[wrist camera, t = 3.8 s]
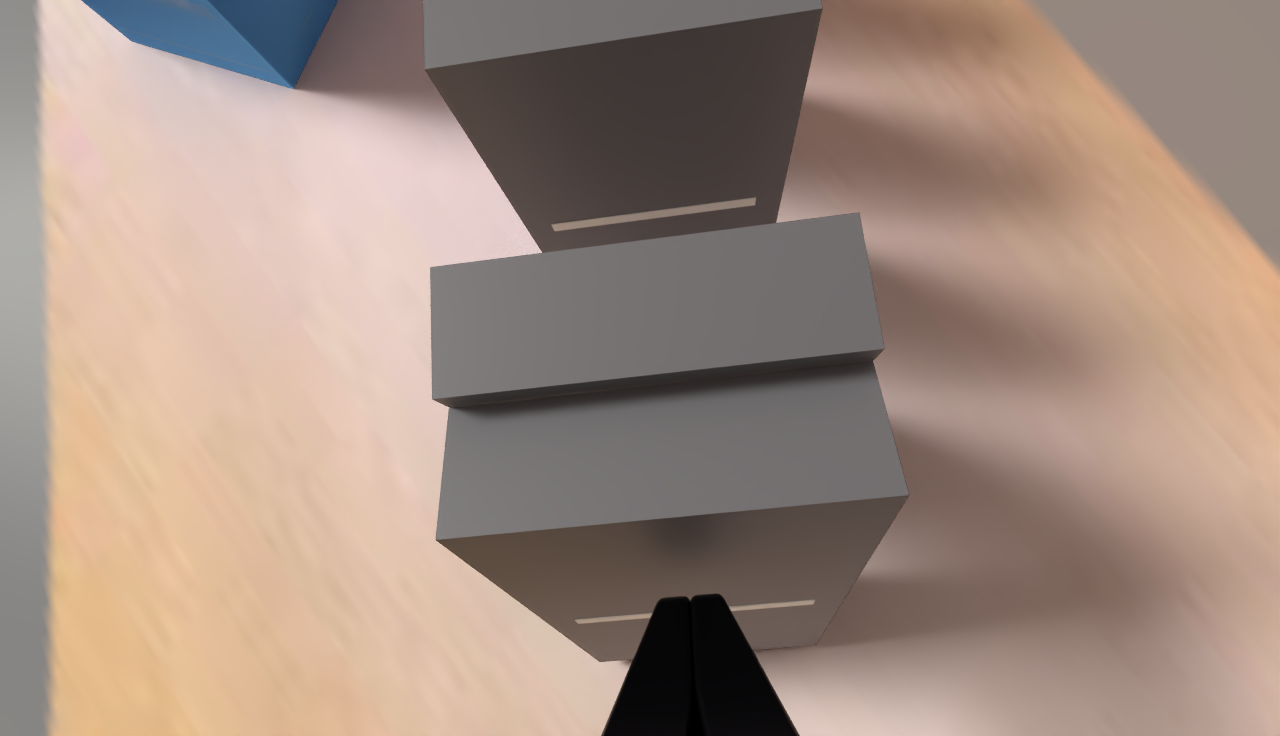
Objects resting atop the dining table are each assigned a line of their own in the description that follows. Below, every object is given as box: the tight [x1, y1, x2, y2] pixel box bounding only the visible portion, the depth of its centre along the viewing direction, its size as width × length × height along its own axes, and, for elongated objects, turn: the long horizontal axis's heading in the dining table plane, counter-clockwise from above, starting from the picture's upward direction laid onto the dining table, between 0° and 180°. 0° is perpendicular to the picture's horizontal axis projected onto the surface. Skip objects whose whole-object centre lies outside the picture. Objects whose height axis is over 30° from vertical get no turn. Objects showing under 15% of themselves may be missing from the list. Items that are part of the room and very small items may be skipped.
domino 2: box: [430, 213, 884, 408], centre depth 12 cm, size 2×5×10 cm, turn 95°
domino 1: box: [423, 0, 822, 253], centre depth 13 cm, size 2×5×10 cm, turn 95°
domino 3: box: [436, 362, 909, 662], centre depth 12 cm, size 2×5×10 cm, turn 96°
